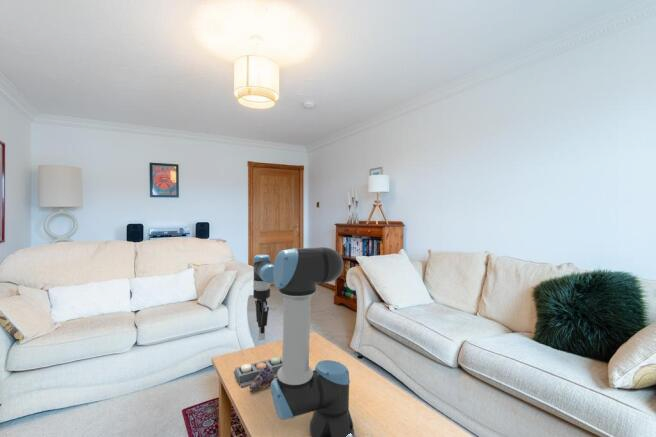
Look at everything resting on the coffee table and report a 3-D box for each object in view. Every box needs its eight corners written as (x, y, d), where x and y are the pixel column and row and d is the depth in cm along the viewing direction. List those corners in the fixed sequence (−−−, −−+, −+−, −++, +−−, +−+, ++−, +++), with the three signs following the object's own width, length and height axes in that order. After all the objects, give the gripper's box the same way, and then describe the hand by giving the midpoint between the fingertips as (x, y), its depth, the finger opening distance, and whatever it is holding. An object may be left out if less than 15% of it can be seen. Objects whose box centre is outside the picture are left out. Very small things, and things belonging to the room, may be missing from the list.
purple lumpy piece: (254, 396, 125) (254, 382, 124) (243, 386, 130) (244, 373, 129) (277, 382, 134) (277, 370, 133) (266, 374, 139) (267, 362, 138)
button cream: (252, 372, 137) (252, 367, 137) (242, 375, 135) (242, 369, 135) (249, 368, 141) (249, 363, 141) (240, 370, 139) (240, 365, 139)
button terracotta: (267, 371, 141) (267, 366, 141) (258, 373, 138) (258, 368, 138) (264, 366, 144) (264, 361, 144) (255, 369, 142) (255, 364, 142)
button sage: (281, 364, 144) (281, 359, 144) (272, 367, 142) (272, 362, 142) (278, 360, 148) (278, 355, 148) (269, 362, 146) (269, 358, 146)
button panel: (289, 374, 141) (289, 366, 141) (241, 387, 130) (241, 379, 130) (278, 360, 153) (278, 353, 153) (233, 372, 142) (233, 364, 142)
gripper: (274, 291, 136) (274, 343, 137) (265, 284, 147) (264, 332, 148) (258, 293, 132) (257, 346, 133) (249, 286, 144) (249, 335, 145)
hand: (261, 339), depth 141 cm, fingers closed
